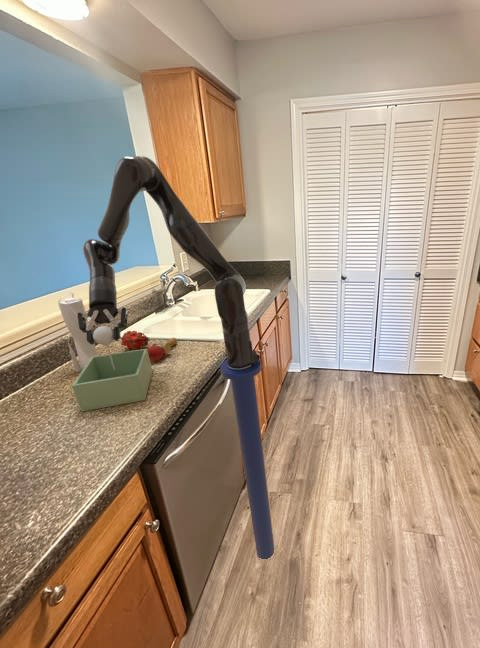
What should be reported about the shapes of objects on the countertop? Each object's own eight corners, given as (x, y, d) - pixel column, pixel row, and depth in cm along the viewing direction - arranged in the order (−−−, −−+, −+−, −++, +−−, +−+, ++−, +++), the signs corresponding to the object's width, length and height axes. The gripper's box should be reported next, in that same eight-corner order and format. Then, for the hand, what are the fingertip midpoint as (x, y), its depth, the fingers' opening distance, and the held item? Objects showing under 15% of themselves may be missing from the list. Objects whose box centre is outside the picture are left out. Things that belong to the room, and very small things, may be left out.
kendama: (164, 346, 140) (140, 361, 123) (165, 333, 138) (140, 345, 121) (181, 350, 139) (159, 364, 122) (182, 336, 137) (160, 349, 120)
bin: (152, 370, 118) (147, 348, 114) (144, 400, 100) (137, 374, 97) (99, 379, 113) (91, 356, 110) (81, 411, 96) (71, 385, 92)
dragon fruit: (124, 350, 139) (151, 354, 138) (112, 346, 131) (141, 351, 130) (129, 331, 141) (156, 335, 140) (118, 326, 132) (146, 330, 132)
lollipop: (124, 363, 108) (113, 321, 102) (125, 371, 103) (113, 327, 97) (103, 368, 105) (90, 325, 99) (103, 376, 101) (89, 331, 95)
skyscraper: (81, 363, 126) (57, 293, 115) (104, 359, 128) (82, 290, 117) (75, 373, 119) (48, 299, 108) (100, 368, 121) (76, 296, 110)
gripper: (72, 290, 99) (71, 340, 93) (123, 285, 102) (125, 333, 97) (83, 302, 106) (83, 349, 100) (130, 297, 109) (133, 342, 103)
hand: (104, 341), depth 98 cm, fingers closed on lollipop, 6 cm apart
